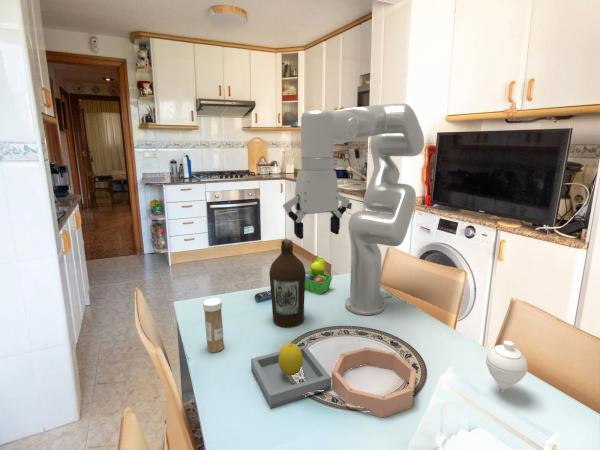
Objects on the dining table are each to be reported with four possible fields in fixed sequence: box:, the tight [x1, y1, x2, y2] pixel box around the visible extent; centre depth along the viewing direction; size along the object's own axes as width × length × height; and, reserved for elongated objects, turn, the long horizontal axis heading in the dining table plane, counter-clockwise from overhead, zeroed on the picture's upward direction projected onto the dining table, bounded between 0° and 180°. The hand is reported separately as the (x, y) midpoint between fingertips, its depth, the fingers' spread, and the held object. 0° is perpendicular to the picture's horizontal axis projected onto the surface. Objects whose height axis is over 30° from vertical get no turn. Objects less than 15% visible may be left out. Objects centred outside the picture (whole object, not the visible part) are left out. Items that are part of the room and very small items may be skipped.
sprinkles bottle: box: [202, 297, 225, 353], centre depth 95 cm, size 5×5×13 cm
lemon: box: [278, 342, 303, 375], centre depth 82 cm, size 6×6×8 cm
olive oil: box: [268, 239, 306, 329], centre depth 108 cm, size 11×11×25 cm
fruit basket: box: [305, 257, 333, 295], centre depth 132 cm, size 11×9×11 cm
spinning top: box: [485, 340, 529, 394], centre depth 77 cm, size 8×8×12 cm
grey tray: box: [250, 344, 332, 409], centre depth 83 cm, size 14×14×3 cm
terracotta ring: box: [331, 346, 417, 418], centre depth 80 cm, size 17×17×4 cm
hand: (317, 235), depth 90 cm, fingers open, 9 cm apart
